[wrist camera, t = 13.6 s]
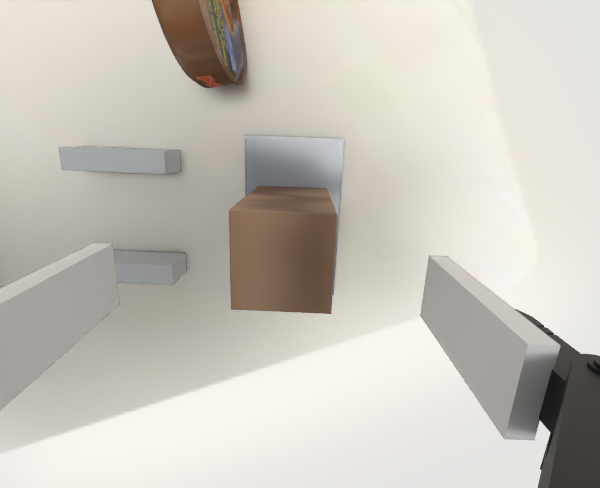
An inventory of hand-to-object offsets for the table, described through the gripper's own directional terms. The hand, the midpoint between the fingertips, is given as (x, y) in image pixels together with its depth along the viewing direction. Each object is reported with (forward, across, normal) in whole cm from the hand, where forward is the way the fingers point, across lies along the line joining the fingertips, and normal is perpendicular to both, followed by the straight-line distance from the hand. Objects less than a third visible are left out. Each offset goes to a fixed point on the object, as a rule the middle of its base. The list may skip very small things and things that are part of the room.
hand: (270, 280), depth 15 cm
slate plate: (+13, +1, 0) cm, 13 cm away
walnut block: (+12, 0, 0) cm, 12 cm away
